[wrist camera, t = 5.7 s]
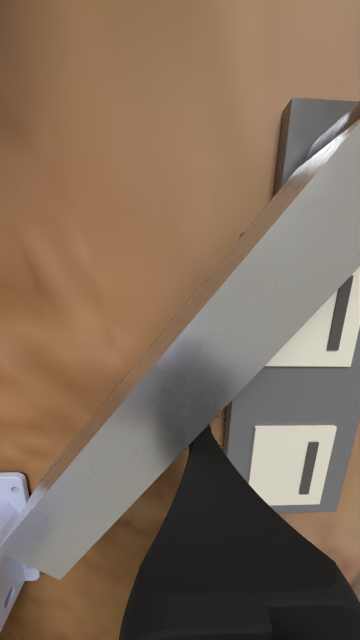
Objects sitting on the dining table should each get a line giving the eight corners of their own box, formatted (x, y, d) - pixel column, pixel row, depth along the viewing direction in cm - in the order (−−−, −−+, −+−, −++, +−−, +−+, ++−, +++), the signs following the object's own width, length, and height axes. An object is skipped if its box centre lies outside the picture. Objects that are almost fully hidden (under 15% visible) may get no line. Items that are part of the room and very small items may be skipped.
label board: (326, 496, 16) (339, 516, 14) (218, 499, 15) (223, 519, 14) (385, 238, 12) (411, 234, 10) (241, 233, 11) (250, 229, 10)
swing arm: (89, 498, 13) (59, 580, 9) (44, 474, 12) (-4, 551, 9) (341, 218, 10) (431, 191, 6) (296, 169, 9) (369, 111, 6)
